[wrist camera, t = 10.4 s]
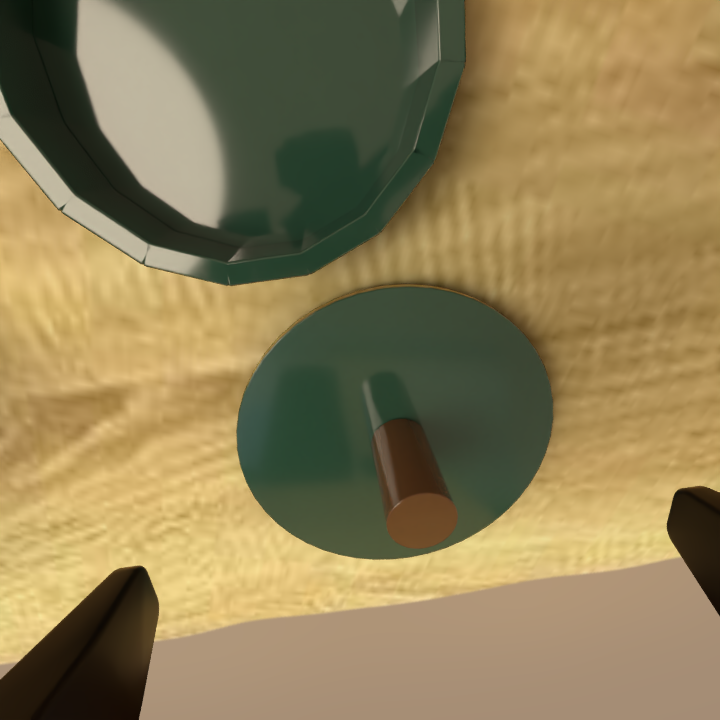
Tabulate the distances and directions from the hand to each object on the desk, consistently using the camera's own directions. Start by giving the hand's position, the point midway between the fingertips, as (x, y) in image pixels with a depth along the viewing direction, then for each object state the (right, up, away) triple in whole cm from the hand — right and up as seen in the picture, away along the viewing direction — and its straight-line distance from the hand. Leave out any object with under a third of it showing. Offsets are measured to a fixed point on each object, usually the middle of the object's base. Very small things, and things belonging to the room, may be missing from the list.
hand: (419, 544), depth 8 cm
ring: (-5, +13, +7) cm, 16 cm away
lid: (+1, 0, +13) cm, 13 cm away
